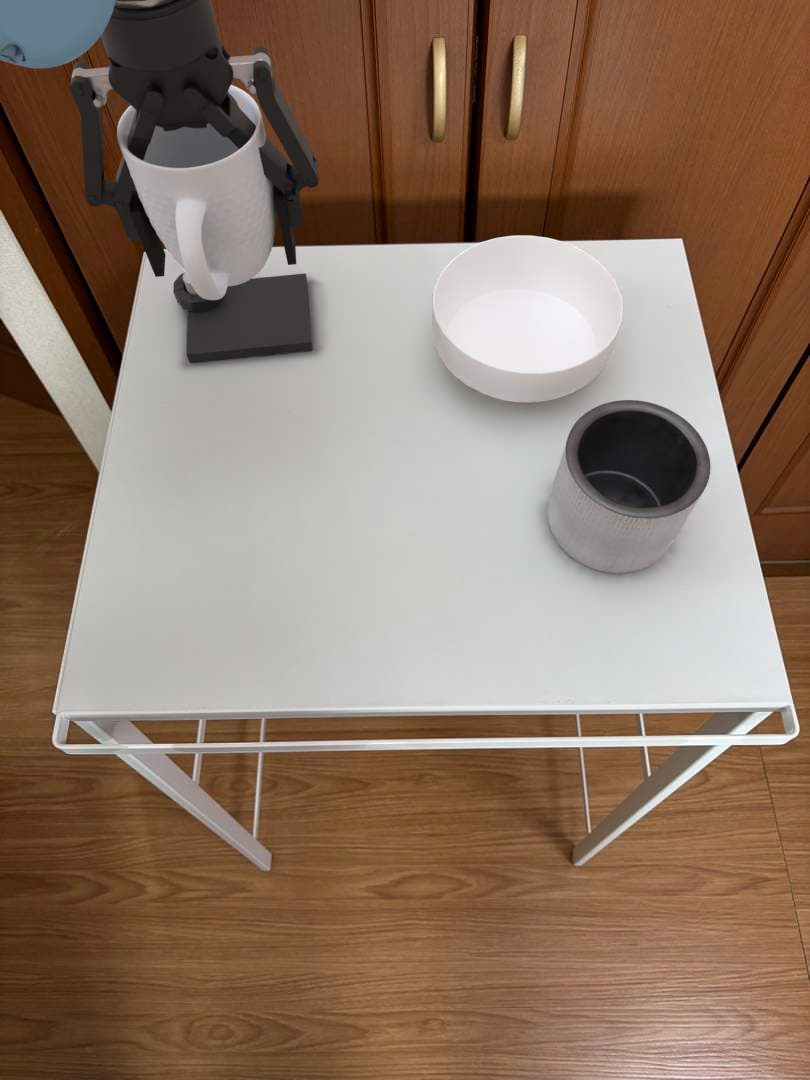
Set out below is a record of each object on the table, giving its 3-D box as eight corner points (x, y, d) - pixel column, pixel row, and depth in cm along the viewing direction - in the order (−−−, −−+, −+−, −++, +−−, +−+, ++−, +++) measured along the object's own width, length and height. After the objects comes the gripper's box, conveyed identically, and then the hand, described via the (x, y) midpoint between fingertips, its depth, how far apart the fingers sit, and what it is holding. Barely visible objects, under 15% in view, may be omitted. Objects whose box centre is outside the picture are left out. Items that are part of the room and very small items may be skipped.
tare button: (186, 296, 86) (182, 284, 84) (186, 280, 87) (182, 268, 85) (209, 294, 86) (205, 282, 84) (209, 278, 87) (205, 266, 86)
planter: (533, 558, 72) (551, 498, 62) (558, 455, 78) (579, 384, 68) (664, 591, 70) (704, 534, 60) (680, 483, 76) (719, 415, 66)
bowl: (606, 435, 79) (625, 382, 71) (421, 418, 80) (421, 365, 73) (605, 300, 88) (622, 241, 80) (439, 287, 89) (441, 228, 82)
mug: (284, 337, 63) (254, 203, 51) (154, 342, 63) (94, 209, 51) (292, 217, 70) (266, 75, 58) (175, 222, 70) (126, 81, 58)
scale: (178, 364, 84) (170, 345, 82) (181, 289, 90) (173, 270, 87) (312, 350, 85) (309, 331, 82) (307, 277, 91) (303, 257, 88)
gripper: (327, -67, 49) (354, 219, 68) (-35, -39, 48) (97, 242, 67) (333, -6, 45) (360, 278, 64) (-57, 25, 44) (89, 302, 64)
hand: (226, 259), depth 66 cm, fingers closed on mug, 11 cm apart
